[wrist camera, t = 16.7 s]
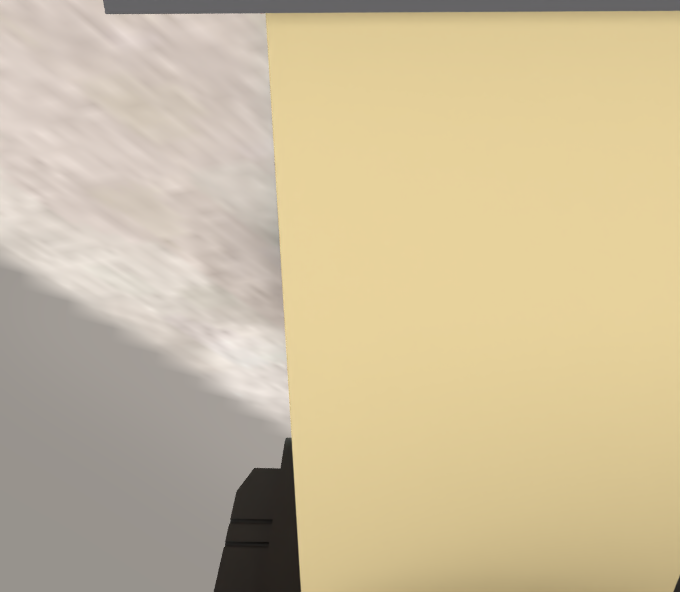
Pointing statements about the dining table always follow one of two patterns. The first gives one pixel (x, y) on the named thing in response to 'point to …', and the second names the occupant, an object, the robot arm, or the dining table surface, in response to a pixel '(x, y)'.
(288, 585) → the robot arm
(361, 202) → the yellow and black block
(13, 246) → the dining table surface
